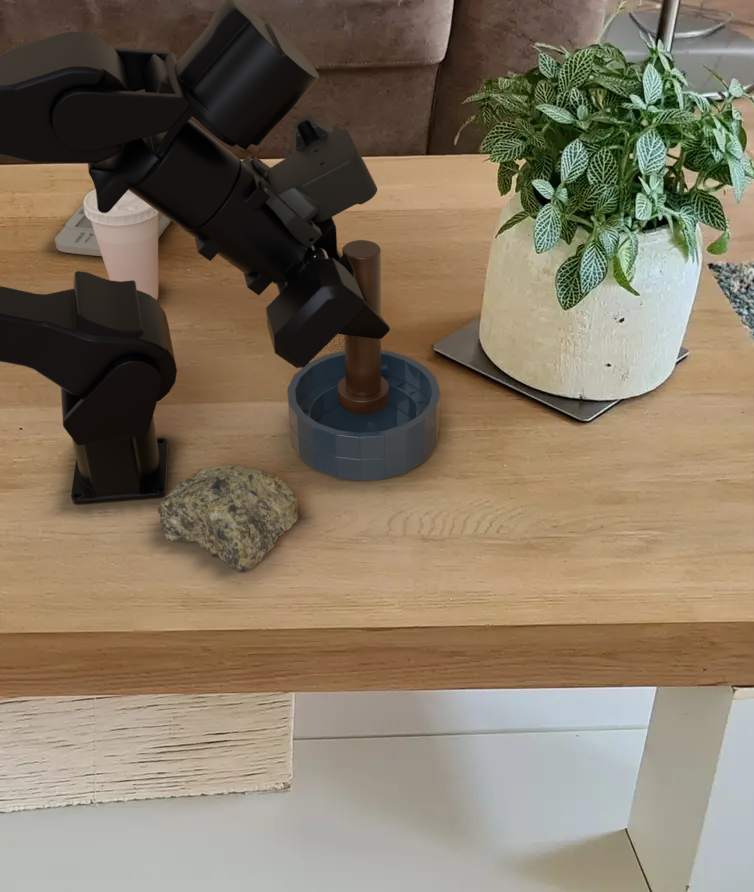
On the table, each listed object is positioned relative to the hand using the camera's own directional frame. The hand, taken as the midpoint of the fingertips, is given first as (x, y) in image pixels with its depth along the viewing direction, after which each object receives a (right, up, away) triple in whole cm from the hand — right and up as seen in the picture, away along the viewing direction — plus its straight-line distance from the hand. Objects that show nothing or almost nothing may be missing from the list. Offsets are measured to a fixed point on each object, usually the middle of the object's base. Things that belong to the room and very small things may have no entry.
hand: (381, 322), depth 83 cm
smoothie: (-23, +4, +21) cm, 32 cm away
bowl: (-2, -8, +6) cm, 10 cm away
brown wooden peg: (-2, -5, +4) cm, 7 cm away
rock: (-10, -15, -3) cm, 18 cm away
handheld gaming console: (-27, +13, +32) cm, 44 cm away
